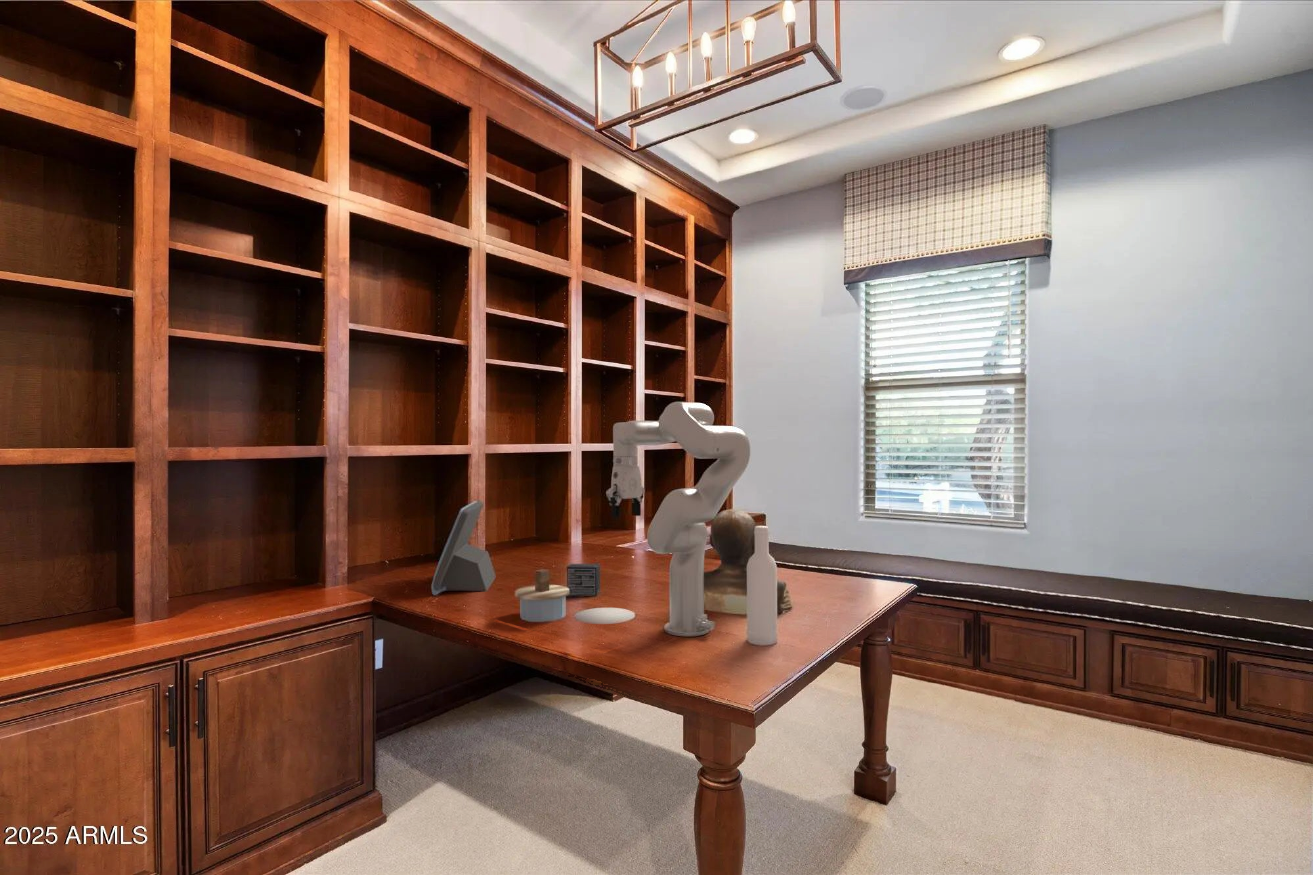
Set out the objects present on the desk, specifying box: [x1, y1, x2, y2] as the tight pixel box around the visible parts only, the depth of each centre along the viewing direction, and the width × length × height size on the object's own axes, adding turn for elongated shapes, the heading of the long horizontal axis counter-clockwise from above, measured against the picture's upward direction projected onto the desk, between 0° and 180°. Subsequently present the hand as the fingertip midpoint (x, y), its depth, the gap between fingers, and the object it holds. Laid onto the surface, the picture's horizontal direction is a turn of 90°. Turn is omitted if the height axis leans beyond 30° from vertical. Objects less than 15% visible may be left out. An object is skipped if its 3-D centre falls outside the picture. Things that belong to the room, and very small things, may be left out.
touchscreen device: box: [431, 500, 497, 597], centre depth 238 cm, size 35×20×30 cm, turn 6°
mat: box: [574, 607, 636, 625], centre depth 192 cm, size 18×18×1 cm
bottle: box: [746, 525, 779, 647], centre depth 169 cm, size 8×8×30 cm
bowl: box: [519, 596, 567, 623], centre depth 192 cm, size 13×13×7 cm
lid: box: [514, 568, 569, 601], centre depth 192 cm, size 16×16×7 cm
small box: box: [566, 563, 601, 598], centre depth 220 cm, size 11×6×10 cm, turn 84°
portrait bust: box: [704, 508, 793, 615], centre depth 207 cm, size 21×35×31 cm, turn 63°
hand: (626, 516), depth 200 cm, fingers open, 9 cm apart
